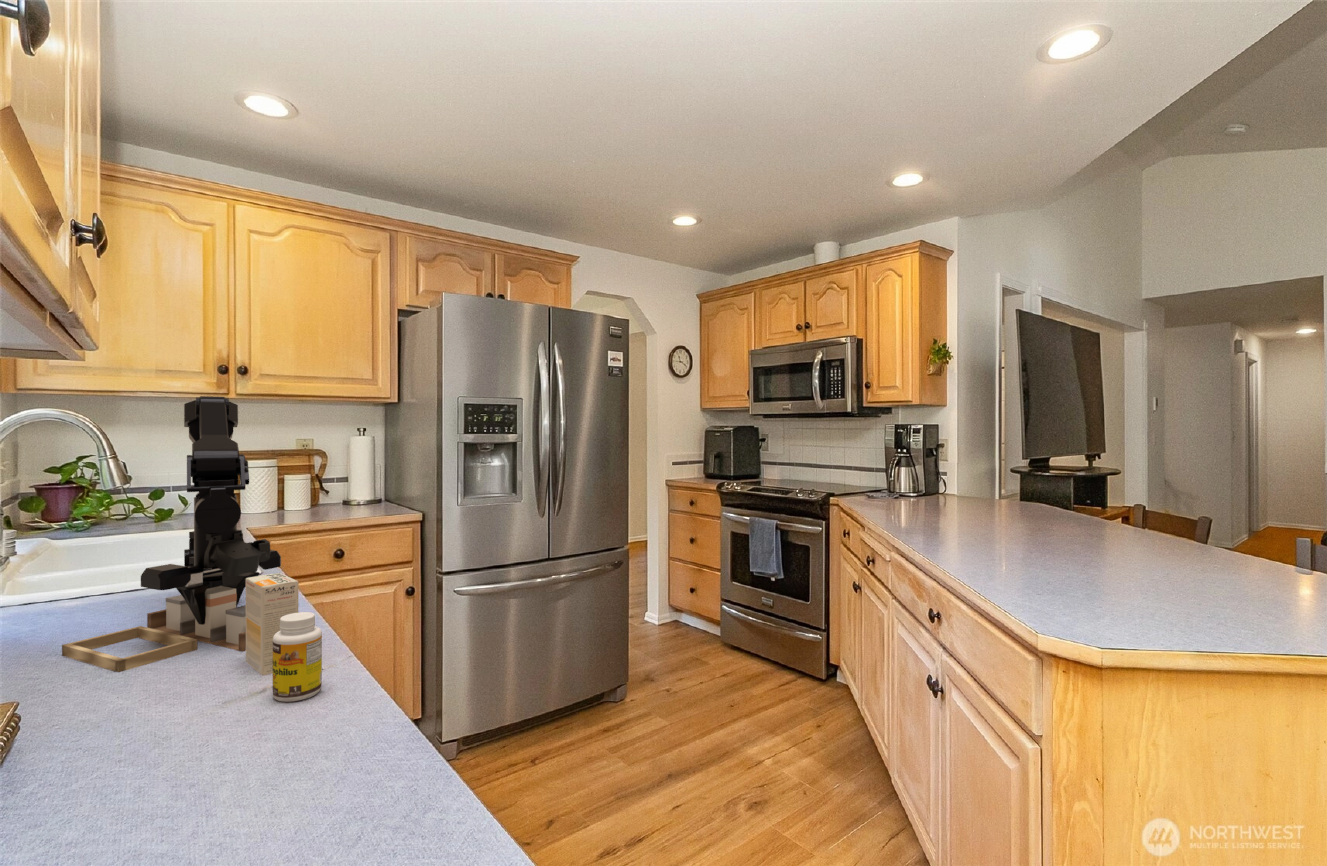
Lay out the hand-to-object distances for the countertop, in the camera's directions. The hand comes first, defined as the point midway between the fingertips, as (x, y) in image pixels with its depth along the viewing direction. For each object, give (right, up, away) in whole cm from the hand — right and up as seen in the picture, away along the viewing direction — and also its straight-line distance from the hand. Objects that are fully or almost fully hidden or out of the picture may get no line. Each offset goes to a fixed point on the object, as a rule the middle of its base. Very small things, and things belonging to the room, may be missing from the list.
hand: (215, 620), depth 105 cm
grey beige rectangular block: (-7, -2, +3) cm, 8 cm away
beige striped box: (0, -2, 0) cm, 2 cm away
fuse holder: (0, -3, 0) cm, 3 cm away
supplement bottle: (+25, -4, -21) cm, 33 cm away
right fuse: (+7, -2, -3) cm, 8 cm away
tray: (-6, -3, -9) cm, 11 cm away
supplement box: (+17, -4, -13) cm, 22 cm away
